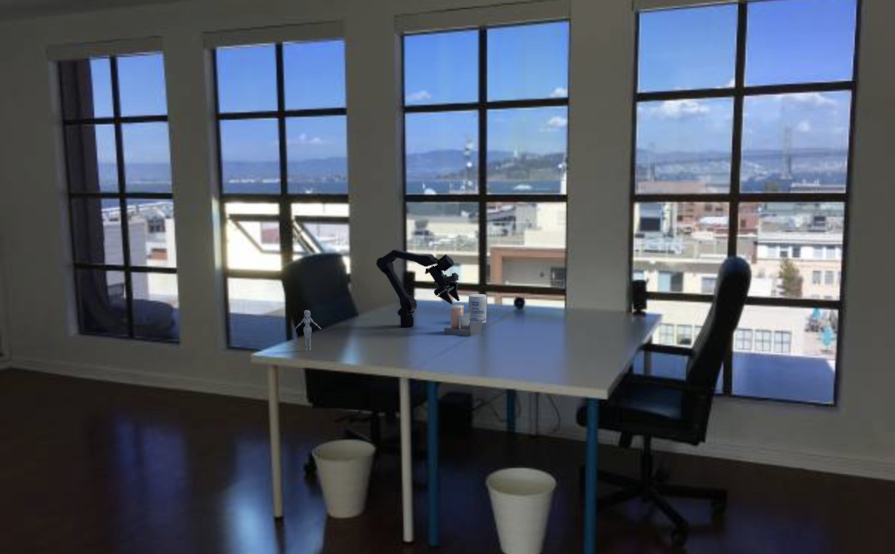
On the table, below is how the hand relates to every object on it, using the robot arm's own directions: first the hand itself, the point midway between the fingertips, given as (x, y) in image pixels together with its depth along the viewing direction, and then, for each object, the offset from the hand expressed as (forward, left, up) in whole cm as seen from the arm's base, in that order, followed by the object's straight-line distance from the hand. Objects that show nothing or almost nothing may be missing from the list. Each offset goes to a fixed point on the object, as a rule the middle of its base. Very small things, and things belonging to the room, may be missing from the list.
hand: (455, 302), depth 354 cm
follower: (+2, -9, -14) cm, 17 cm away
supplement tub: (+15, +16, -14) cm, 26 cm away
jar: (-1, -7, -14) cm, 15 cm away
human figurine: (-73, -26, -14) cm, 79 cm away
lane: (+2, -9, -14) cm, 17 cm away
